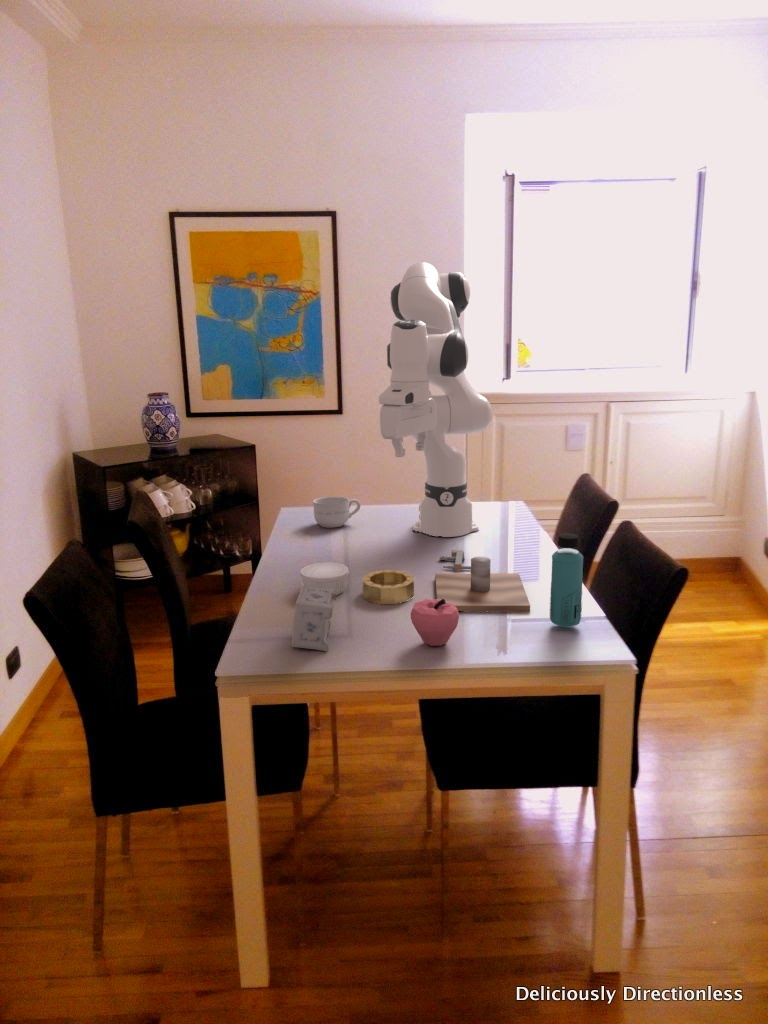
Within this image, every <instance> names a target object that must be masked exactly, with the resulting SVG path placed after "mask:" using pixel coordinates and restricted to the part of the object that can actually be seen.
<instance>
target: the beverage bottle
mask: <svg viewBox="0 0 768 1024" xmlns="http://www.w3.org/2000/svg"><path fill="white" fill-rule="evenodd" d="M557 538H558V539H557V540H558V541H557V546H559V549H557V550H556V551H555V552H553V554H552V555H551V581H550V597H549V619H550V621H551V623H553V624H554V625H556V626H560V627H575V626H577V625H579V624H580V623H581V620H582V614H583V613H582V608H583V605H582V601H583V582H584V581H583V578H584V577H583V575H584V574H583V568H584V555H583V554H582V553H581V552H580V551H579V550H578V549H575V548H578V547H579V536H578V535H577V534H574V533H572V532H571V533H568V532H567V533H565V532H564V533H560V534H559V535H558V537H557Z"/></svg>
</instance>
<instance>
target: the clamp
mask: <svg viewBox="0 0 768 1024" xmlns="http://www.w3.org/2000/svg"><path fill="white" fill-rule="evenodd" d="M450 553H451V555H450V556H448V555H440V556H439V561H440V560H445V561H444V562H448V561H452V560H453V561H455V562H454V565H442V569H448V570H455V569H456V570H461V571H462V570H471V565H469V566H468V565H463V562H465V558H466V557H465V551H464V550H461V549H458V550H457V549H452V550H451V551H450ZM461 565H462V566H461Z"/></svg>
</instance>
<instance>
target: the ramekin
mask: <svg viewBox="0 0 768 1024" xmlns="http://www.w3.org/2000/svg"><path fill="white" fill-rule="evenodd" d="M349 573H350V572H349V568H348V566H346V565H345V564H343V563H337V562H328V561H327V562H317V563H311V564H309V565H308V564H307V565H305V566H304V567H302V568H301V569H300V572H299V574H300V577H301V581H302V586H311V587H317V588H326V589H333V590H336V597H337V596H339V595H341V594H342V593H344V591H346V589H347V582H348V575H349Z"/></svg>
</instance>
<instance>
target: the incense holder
mask: <svg viewBox="0 0 768 1024" xmlns="http://www.w3.org/2000/svg"><path fill="white" fill-rule="evenodd" d="M336 598H337V596H336V590H333V589H326V588H317V587H311V586H304V585H302V586H301V588H300V591H299V594H298V596H297V599H296V602H295V605H294V616H293V625H292V635H291V641H290V642H291V647H293V648H298V649H299V648H300V649H301V648H302V649H310V650H316V651H317V650H318V651H322V652H328V651H329V643H328V642H327V637H328V635H329V634H330V633H329V631H330V629H331V618H332V617H333V604H332V603H333V602H334V601H336Z"/></svg>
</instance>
